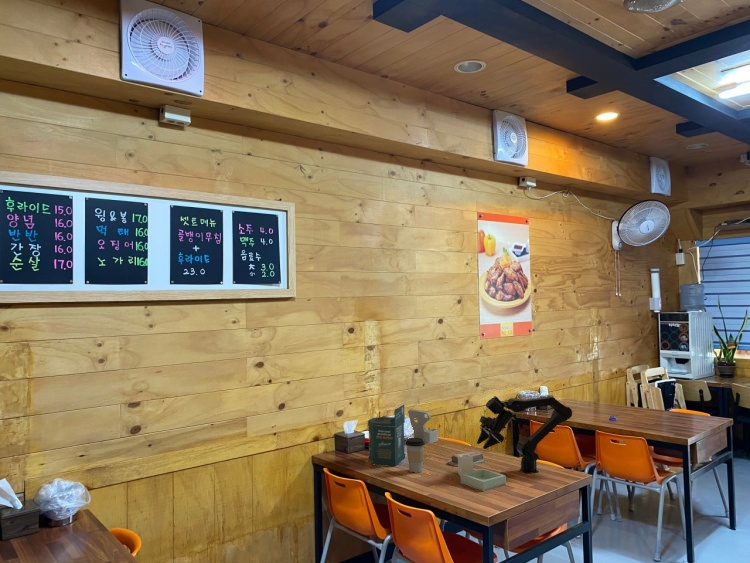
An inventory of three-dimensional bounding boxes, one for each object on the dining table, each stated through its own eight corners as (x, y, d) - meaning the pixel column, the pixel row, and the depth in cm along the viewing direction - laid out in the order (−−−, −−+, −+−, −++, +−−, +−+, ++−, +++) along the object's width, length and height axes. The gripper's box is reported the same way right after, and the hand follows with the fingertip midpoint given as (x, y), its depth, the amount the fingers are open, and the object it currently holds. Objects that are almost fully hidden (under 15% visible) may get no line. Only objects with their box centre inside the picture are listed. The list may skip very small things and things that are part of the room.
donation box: (395, 466, 281) (394, 409, 282) (365, 463, 286) (364, 408, 287) (405, 458, 296) (404, 404, 297) (376, 455, 301) (375, 402, 302)
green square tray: (482, 477, 262) (482, 468, 262) (505, 484, 251) (505, 475, 251) (460, 482, 254) (460, 473, 254) (483, 491, 242) (483, 481, 243)
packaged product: (472, 448, 296) (486, 452, 288) (472, 458, 296) (486, 462, 287) (446, 454, 286) (460, 458, 277) (446, 464, 286) (460, 468, 277)
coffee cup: (428, 469, 275) (427, 438, 276) (421, 475, 266) (420, 442, 267) (409, 467, 279) (409, 436, 279) (402, 472, 270) (402, 441, 271)
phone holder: (439, 440, 332) (439, 409, 333) (428, 443, 325) (428, 412, 326) (417, 435, 345) (417, 406, 345) (406, 438, 338) (405, 408, 338)
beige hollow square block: (469, 473, 268) (469, 454, 269) (473, 476, 263) (472, 457, 263) (458, 473, 267) (457, 454, 268) (461, 477, 262) (461, 457, 262)
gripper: (483, 406, 278) (462, 430, 276) (496, 413, 259) (474, 439, 257) (499, 421, 279) (478, 445, 277) (513, 429, 260) (491, 455, 258)
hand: (480, 446), depth 267 cm, fingers open, 9 cm apart
